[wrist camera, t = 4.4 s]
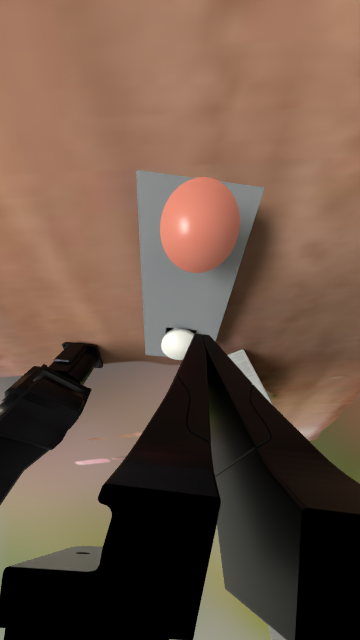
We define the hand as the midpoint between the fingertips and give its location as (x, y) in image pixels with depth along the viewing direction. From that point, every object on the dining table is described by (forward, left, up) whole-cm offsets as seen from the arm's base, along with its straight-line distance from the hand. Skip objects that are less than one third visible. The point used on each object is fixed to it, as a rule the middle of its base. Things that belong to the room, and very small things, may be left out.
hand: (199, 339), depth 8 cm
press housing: (-1, +1, -14) cm, 14 cm away
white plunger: (-8, +1, -12) cm, 15 cm away
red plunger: (+5, +1, -9) cm, 11 cm away
